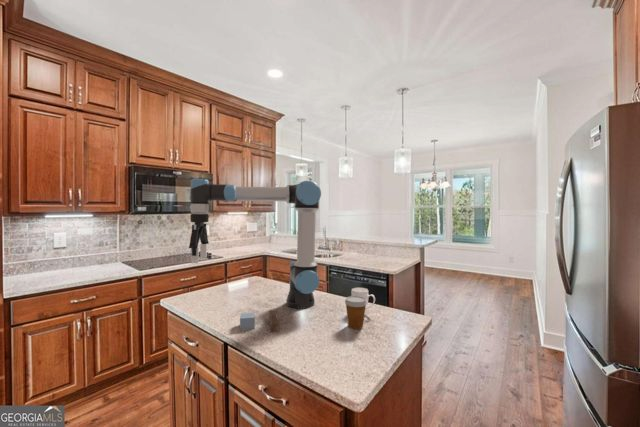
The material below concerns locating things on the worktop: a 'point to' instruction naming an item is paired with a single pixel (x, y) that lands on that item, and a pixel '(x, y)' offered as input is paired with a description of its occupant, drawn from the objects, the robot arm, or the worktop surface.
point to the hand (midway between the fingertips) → (199, 260)
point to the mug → (362, 294)
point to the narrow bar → (273, 321)
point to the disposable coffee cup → (355, 311)
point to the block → (247, 321)
